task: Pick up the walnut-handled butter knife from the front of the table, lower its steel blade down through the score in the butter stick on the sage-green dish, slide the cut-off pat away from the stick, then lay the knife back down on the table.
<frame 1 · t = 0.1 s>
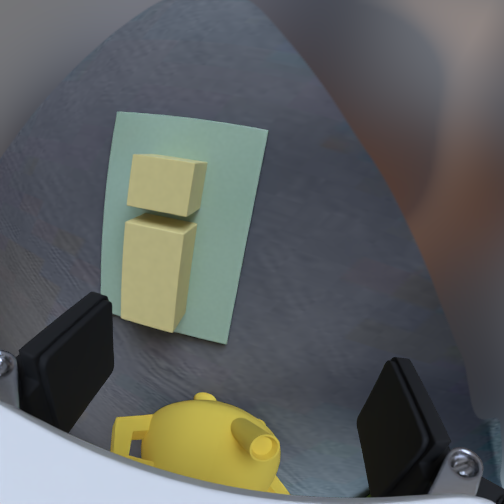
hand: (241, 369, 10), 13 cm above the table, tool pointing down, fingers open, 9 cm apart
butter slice: (175, 180, 21), point 1 cm above the table, touching butter dish
teapot: (216, 426, 28), on the table
butter block: (165, 264, 23), resting on butter dish
butter dish: (172, 229, 23), on the table
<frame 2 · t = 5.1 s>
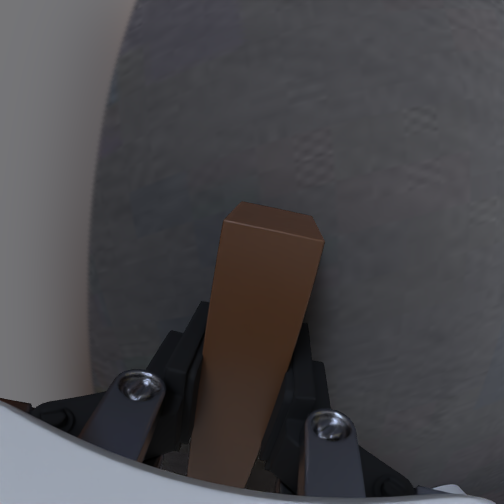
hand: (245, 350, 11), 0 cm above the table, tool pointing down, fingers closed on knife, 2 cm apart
knife: (226, 434, 12), on the table, touching gripper
cup: (425, 501, 14), on the table
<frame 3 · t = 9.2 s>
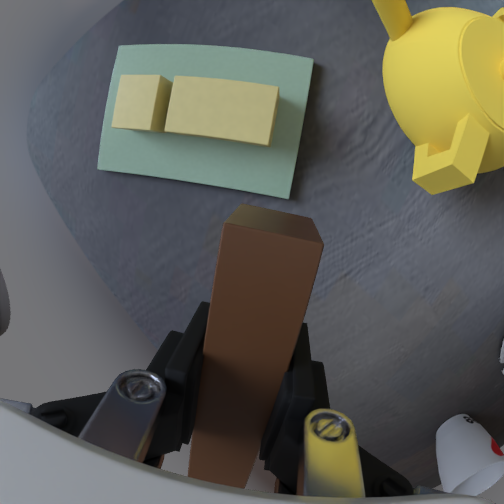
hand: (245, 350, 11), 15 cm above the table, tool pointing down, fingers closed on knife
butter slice: (152, 107, 22), point 1 cm above the table, touching butter dish
knife: (226, 434, 13), point 15 cm above the table, touching gripper
teapot: (441, 95, 20), on the table
cup: (452, 426, 30), on the table
butter block: (228, 114, 22), resting on butter dish
butter dish: (198, 111, 23), on the table
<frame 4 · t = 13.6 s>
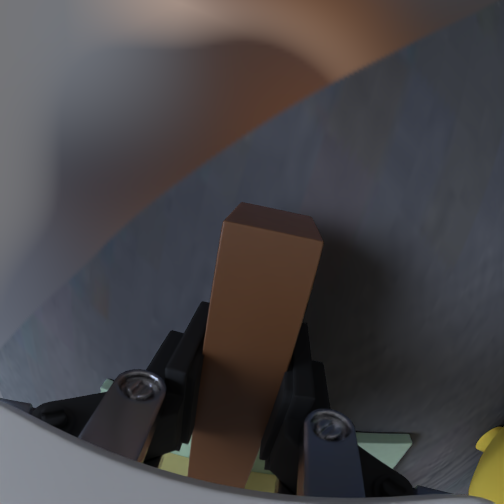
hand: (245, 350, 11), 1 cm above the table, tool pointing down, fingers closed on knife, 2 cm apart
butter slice: (180, 473, 15), point 1 cm above the table, touching butter dish
knife: (226, 434, 13), point 1 cm above the table, touching gripper
butter block: (284, 492, 14), resting on butter dish
butter dish: (243, 476, 15), on the table
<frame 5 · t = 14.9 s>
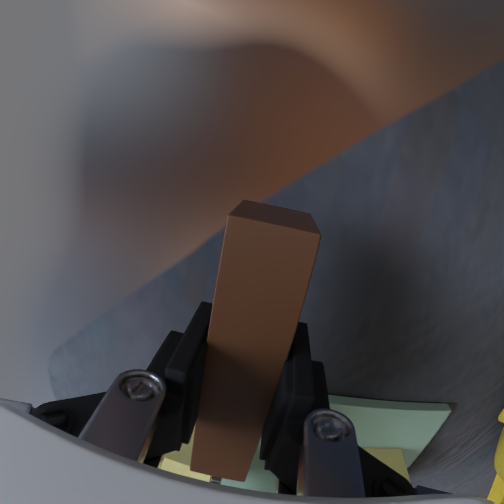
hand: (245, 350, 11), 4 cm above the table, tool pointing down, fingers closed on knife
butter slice: (197, 443, 17), point 1 cm above the table, touching butter dish
knife: (227, 427, 13), point 3 cm above the table, touching gripper
butter block: (341, 464, 17), resting on butter dish
butter dish: (304, 451, 18), on the table
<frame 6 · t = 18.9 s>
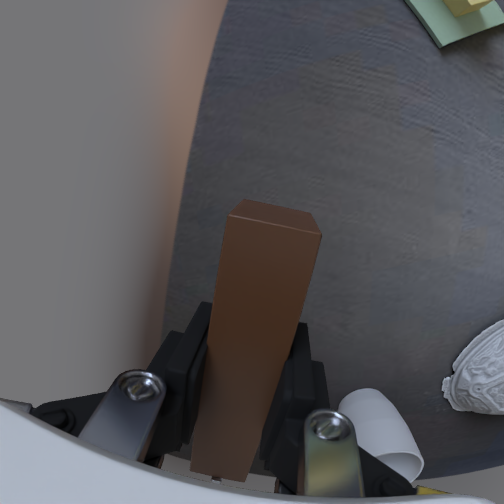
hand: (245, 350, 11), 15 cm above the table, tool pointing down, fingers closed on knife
knife: (228, 427, 13), point 15 cm above the table, touching gripper
cup: (360, 404, 30), on the table
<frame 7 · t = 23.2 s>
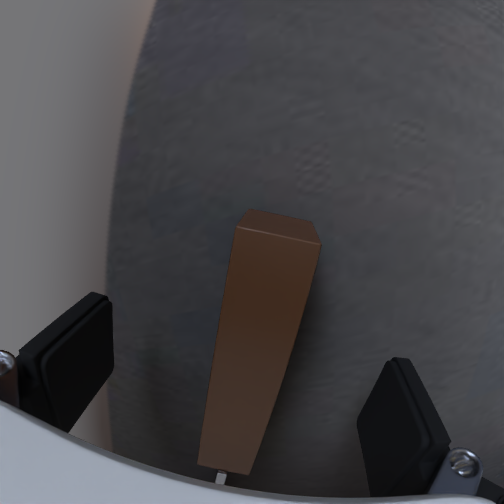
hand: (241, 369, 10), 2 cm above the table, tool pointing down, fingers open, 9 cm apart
knife: (232, 423, 14), on the table
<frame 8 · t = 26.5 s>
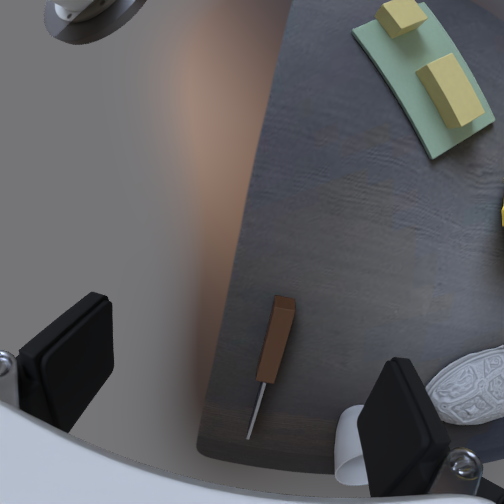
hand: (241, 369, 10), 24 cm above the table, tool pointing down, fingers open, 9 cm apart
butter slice: (396, 21, 25), point 1 cm above the table, touching butter dish
knife: (266, 367, 38), on the table
cup: (356, 416, 40), on the table
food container: (483, 383, 37), on the table
butter block: (444, 93, 26), resting on butter dish
butter dish: (429, 74, 27), on the table
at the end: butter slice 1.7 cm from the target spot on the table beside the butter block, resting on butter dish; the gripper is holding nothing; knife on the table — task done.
